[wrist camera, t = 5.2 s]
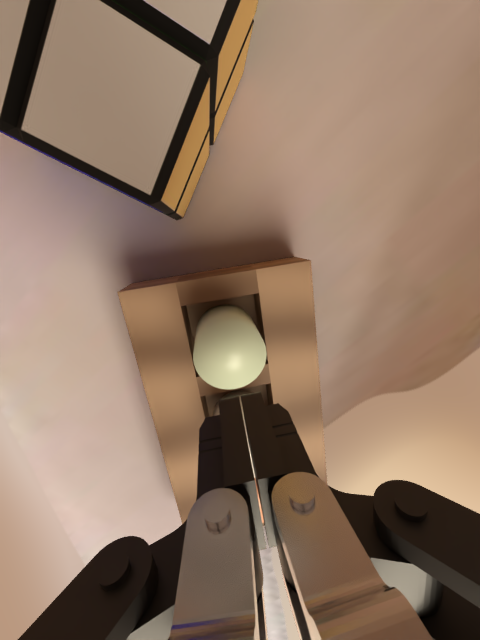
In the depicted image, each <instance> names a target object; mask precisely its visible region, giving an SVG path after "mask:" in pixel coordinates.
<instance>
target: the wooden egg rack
mask: <svg viewBox="0 0 480 640" xmlns="http://www.w3.org/2000/svg"><path fill="white" fill-rule="evenodd" d="M118 296H119V299H120V303H121V307H122V310H123V314H124V317H125V321H126V324H127V328H128V331H129V335H130V339H131V342H132V346H133V349H134V353H135V356H136V360H137V364H138V367H139V371H140V374H141V378H142V381H143V385H144V389H145V392H146V396H147V399H148V403H149V406H150V410H151V413H152V417H153V421H154V424H155V428H156V431H157V435H158V438H159V442H160V446H161V449H162V453H163V456H164V460H165V463H166V467H167V471H168V474H169V478H170V481H171V485H172V488H173V492H174V495H175V499H176V503H177V506H178V510H179V513H180V517H181V520H182V524H183V523H184V522H185V521H186V520H187V518H188V514H189V512H190V509H191V508H192V506H193V504H194V503H195V502H196V498H197V476H198V454H199V452H198V450H199V429H200V427H201V425H202V423H203V422H204V420H205V418H206V417H211V416H213V412H214V408H215V406H216V404H217V402H218V401H219V400H220V399H221V398H222V397H223V396H225V395H226V394H228V393H230V392H233V391H239V390H245V391H250V392H253V393H256V392H261V394H262V397H263V400H264V403H265V406H267V405H272V404H277V403H279V404H280V405H281V406H282V407H284V408H285V409H286V410H287V411H288V412H289V414H290V416H291V418H292V421H293V424H294V425H295V427H296V430H297V433H298V434H299V436H300V439H301V441H302V443H303V445H304V447H305V450H306V452H307V454H308V456H309V459H310V461H311V463H312V465H313V467H314V470H315V472H316V474H317V475H318V476H319V478H320V479H322V480H323V481H324V482H325V483H326V484H327V475H326V462H325V449H324V434H323V420H322V407H321V393H320V380H319V366H318V353H317V339H316V325H315V312H314V298H313V285H312V271H311V260H306V259H302V258H297V257H291V258H285V259H278V260H272V261H266V262H260V263H254V264H248V265H241V266H235V267H229V268H223V269H217V270H211V271H205V272H198V273H192V274H186V275H180V276H174V277H168V278H162V279H155V280H149V281H143V282H137V283H132V284H130V285H129V286H127V287H125V288H124V289H122V290H120V291H119V292H118ZM223 304H230V305H235V306H238V307H240V308H242V309H243V310H245V311H246V312H247V313H248V314H249V315H250V317H251V318H252V320H253V322H254V324H255V326H256V328H257V330H258V331H259V333H260V335H261V337H262V339H263V341H264V343H265V346H266V354H267V355H266V362H265V365H264V368H263V370H262V372H261V373H260V374H259V376H258V377H257V378H256V379H255V380H254V381H252V382H251V383H250V384H248V385H246V386H244V387H241V388H237V389H220V388H216V387H213V386H211V385H210V384H208V383H207V382H205V381H204V380H203V379H202V378H201V377H200V376H199V374H198V373H197V371H196V369H195V366H194V361H193V352H194V344H195V337H196V329H197V325H198V322H199V320H200V318H201V317H202V316H203V314H204V313H205V312H206V311H208V310H209V309H211V308H213V307H215V306H218V305H223ZM262 525H263V526H264V523H262Z"/></svg>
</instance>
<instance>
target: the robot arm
mask: <svg viewBox="0 0 480 640" xmlns="http://www.w3.org/2000/svg"><path fill="white" fill-rule="evenodd" d="M241 402H242V407H243V413H244V419H245V425H246V431H247V436H246V431H245V426H244V420H243V415H242V410H241V405H240V400H239V396H236V397H231V398H226V399H220V400H219V413H220V415H216V416H211V417H206V418H205V420H204V422H203V423H202V425H201V427H200V429H199V450H198V452H199V454H198V476H197V498H196V502H195V503H194V504H193V506H192V508H191V509H190V512H189V514H188V518H187V520H186V521H185V522H184V523H183V524H182V525H181V526H180V527H179V528H178V529H176V530H175V531H174V532H172V533H170V534H169V535H167V536H165V537H163V538H162V539H160V540H158V541H156V542H155V543H153V544H151V545H148V544H147V542H146V541H145V540H143V539H142V538H140V537H136V536H128V537H123V538H120V539H117V540H115V541H113V542H112V543H110V544H108V545H107V546H106V547H104V548H103V549H102V550H101V551H100V552H99V553H98V554H97V555H96V556H95V557H94V558H93V559H92V560H91V561H90V562H89V563H88V564H87V565H86V566H85V568H84V569H83V570H82V571H81V572H80V573H79V574H78V575H77V576H76V577H75V578H74V580H73V581H72V582H71V583H70V584H69V585H68V586H67V587H66V588H65V589H64V590H63V592H61V594H60V595H59V596H58V597H57V598H56V599H55V600H54V601H53V602H52V603H51V604H50V605H49V607H48V608H47V609H46V610H45V611H44V612H43V613H42V614H41V615H40V616H39V618H37V620H36V621H35V622H34V623H33V624H32V625H31V626H30V627H29V628H28V629H27V630H26V632H25V633H24V634H23V635H22V636H21V637H20V638H19V639H18V640H268V637H267V627H266V616H265V605H264V594H263V587H262V586H263V571H262V565H261V559H260V552H259V550H263V549H267V548H266V542H265V536H264V531H263V525H262V519H261V513H260V507H259V501H258V495H257V489H258V494H259V499H260V504H261V509H262V514H263V519H264V525H265V530H266V535H267V540H268V545H269V548H271V547H276V546H277V548H278V552H279V558H280V562H281V567H282V573H283V580H284V585H285V588H286V592H287V595H288V598H289V602H290V606H291V609H292V613H293V616H294V620H295V623H296V627H297V630H298V634H299V637H300V640H480V514H479V513H476V512H474V511H472V510H470V509H468V508H466V507H464V506H462V505H460V504H458V503H455V502H453V501H451V500H449V499H447V498H445V497H443V496H441V495H439V494H437V493H435V492H432V491H430V490H428V489H426V488H424V487H422V486H420V485H417V484H415V483H412V482H408V481H403V480H392V481H387V482H385V483H383V484H381V485H380V486H379V487H378V488H377V489H376V491H375V493H374V496H366V495H357V494H349V493H344V492H340V491H338V490H335V489H333V488H331V487H330V486H328V485H327V484H326V483H325V482H324V481H323V480H322V479H320V478H319V476H318V475H317V474H316V472H315V470H314V467H313V465H312V463H311V461H310V459H309V456H308V454H307V452H306V450H305V447H304V445H303V443H302V441H301V439H300V436H299V434H298V433H297V430H296V427H295V425H294V424H293V421H292V418H291V416H290V414H289V412H288V411H287V410H286V409H285V408H284V407H282V406H281V405H280V404H279V403H277V404H272V405H267V406H265V403H264V400H263V397H262V394H261V392H256V393H251V394H246V395H241ZM247 437H248V441H247ZM248 442H249V447H248ZM249 448H250V452H249ZM250 453H251V457H250ZM251 458H252V462H251ZM252 463H253V467H252ZM253 468H254V473H255V478H256V483H255V478H254V473H253ZM256 484H257V489H256Z"/></svg>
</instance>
